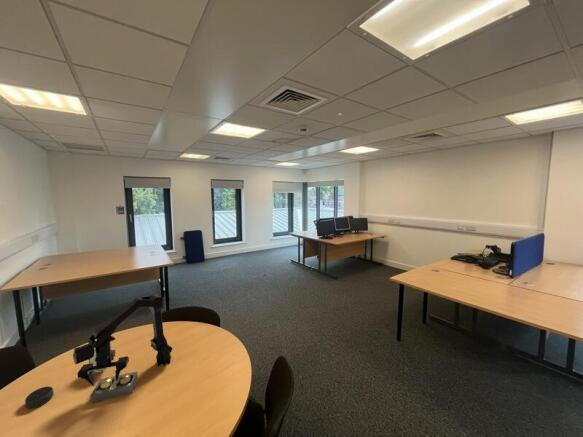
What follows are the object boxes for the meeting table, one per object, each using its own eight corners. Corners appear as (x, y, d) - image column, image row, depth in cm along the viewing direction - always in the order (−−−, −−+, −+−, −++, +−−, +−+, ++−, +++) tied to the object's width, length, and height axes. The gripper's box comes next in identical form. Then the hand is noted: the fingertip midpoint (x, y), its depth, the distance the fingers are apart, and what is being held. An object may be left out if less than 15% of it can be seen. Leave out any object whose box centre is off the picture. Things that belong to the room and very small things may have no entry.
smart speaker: (31, 398, 112) (30, 390, 112) (56, 390, 117) (55, 382, 116) (21, 412, 105) (20, 404, 104) (49, 404, 109) (48, 395, 109)
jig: (137, 378, 124) (137, 371, 124) (132, 393, 115) (131, 385, 114) (100, 387, 118) (99, 379, 118) (91, 403, 109) (90, 395, 109)
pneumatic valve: (105, 375, 126) (104, 353, 125) (87, 372, 129) (86, 351, 128) (115, 368, 132) (114, 347, 131) (98, 365, 134) (96, 344, 133)
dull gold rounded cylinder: (132, 383, 121) (131, 372, 120) (129, 389, 117) (129, 378, 116) (121, 385, 119) (121, 374, 119) (119, 392, 115) (118, 380, 115)
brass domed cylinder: (113, 387, 118) (112, 376, 118) (110, 394, 114) (109, 382, 113) (103, 390, 117) (102, 378, 116) (99, 397, 112) (98, 385, 112)
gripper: (131, 338, 124) (132, 367, 126) (86, 346, 118) (89, 376, 119) (124, 351, 114) (126, 382, 115) (75, 361, 107) (78, 393, 109)
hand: (105, 383), depth 115 cm, fingers open, 9 cm apart
